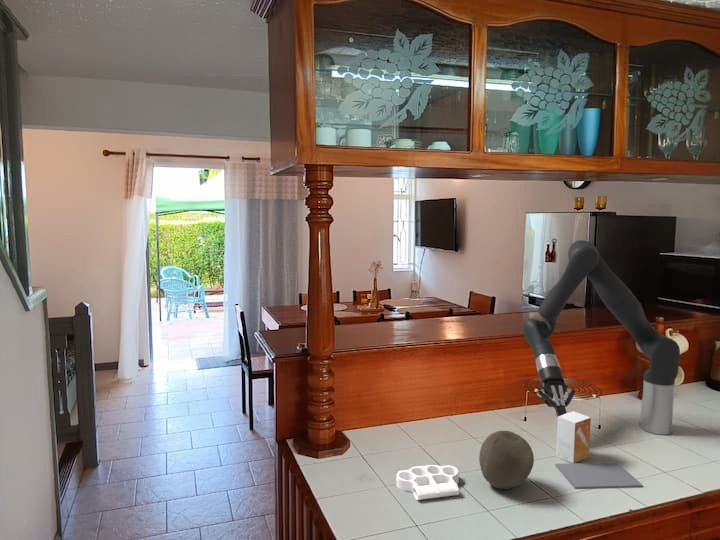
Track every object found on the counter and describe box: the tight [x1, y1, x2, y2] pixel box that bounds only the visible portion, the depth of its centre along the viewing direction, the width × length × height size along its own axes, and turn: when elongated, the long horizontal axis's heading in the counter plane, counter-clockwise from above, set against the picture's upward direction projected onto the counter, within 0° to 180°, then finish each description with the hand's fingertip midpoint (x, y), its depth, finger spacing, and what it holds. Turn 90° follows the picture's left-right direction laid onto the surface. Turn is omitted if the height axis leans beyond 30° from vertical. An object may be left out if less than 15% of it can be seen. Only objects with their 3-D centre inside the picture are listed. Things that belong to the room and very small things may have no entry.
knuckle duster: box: [396, 464, 460, 501], centre depth 141 cm, size 3×18×15 cm
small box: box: [555, 410, 592, 463], centre depth 156 cm, size 8×6×13 cm
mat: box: [554, 461, 644, 489], centre depth 145 cm, size 13×19×1 cm
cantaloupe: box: [478, 430, 535, 490], centre depth 140 cm, size 14×14×15 cm
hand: (563, 418), depth 163 cm, fingers closed
